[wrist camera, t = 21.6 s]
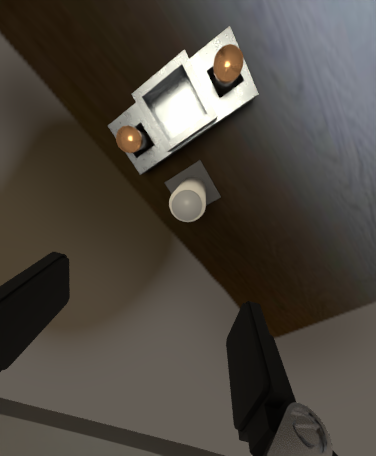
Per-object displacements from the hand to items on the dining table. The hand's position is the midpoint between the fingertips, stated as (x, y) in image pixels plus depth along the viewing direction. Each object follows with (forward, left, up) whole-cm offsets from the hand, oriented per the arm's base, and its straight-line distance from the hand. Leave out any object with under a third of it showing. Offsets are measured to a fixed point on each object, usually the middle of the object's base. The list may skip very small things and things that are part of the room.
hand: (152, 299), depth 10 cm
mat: (0, 0, -30) cm, 30 cm away
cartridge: (0, 0, -30) cm, 30 cm away
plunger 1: (+12, +3, -30) cm, 32 cm away
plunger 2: (+12, -13, -30) cm, 35 cm away
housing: (+12, -5, -30) cm, 33 cm away
